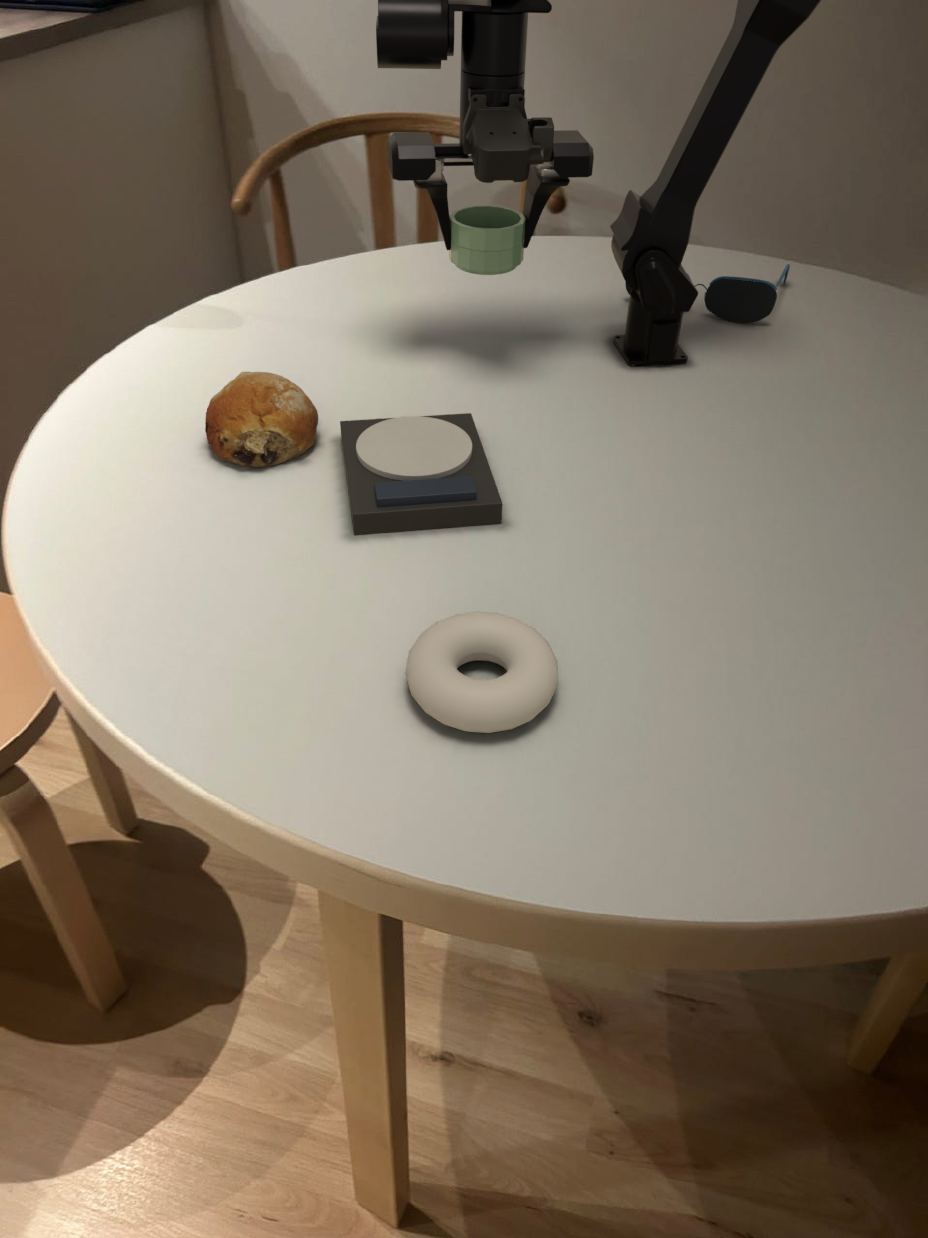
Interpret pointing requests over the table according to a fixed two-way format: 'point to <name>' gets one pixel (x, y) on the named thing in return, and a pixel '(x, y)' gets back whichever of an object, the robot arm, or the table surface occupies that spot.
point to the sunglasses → (740, 297)
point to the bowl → (487, 239)
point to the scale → (417, 474)
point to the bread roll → (260, 420)
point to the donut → (480, 699)
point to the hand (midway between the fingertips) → (486, 247)
